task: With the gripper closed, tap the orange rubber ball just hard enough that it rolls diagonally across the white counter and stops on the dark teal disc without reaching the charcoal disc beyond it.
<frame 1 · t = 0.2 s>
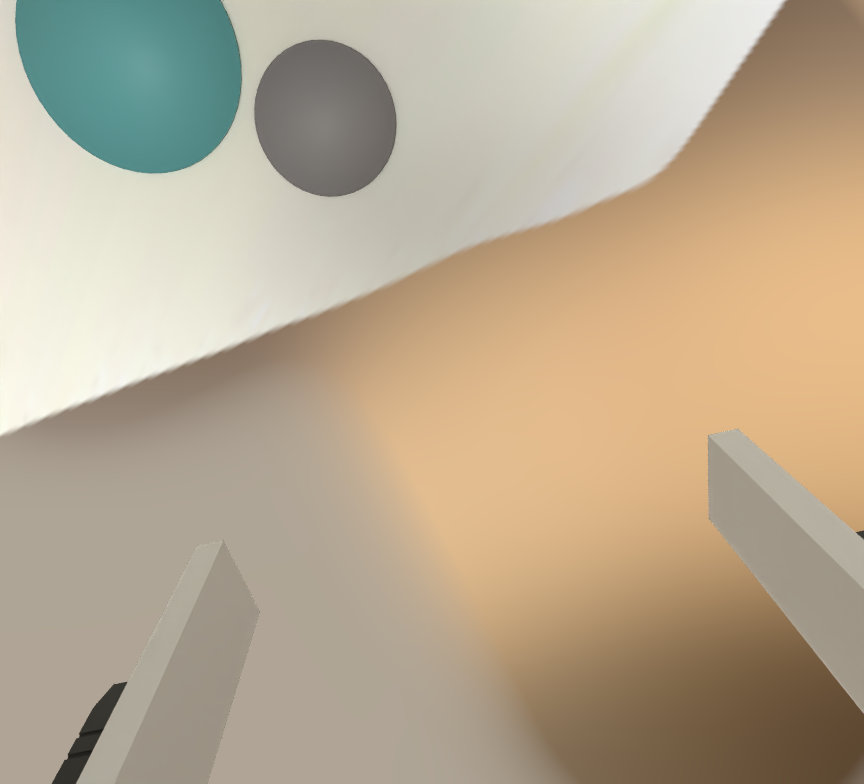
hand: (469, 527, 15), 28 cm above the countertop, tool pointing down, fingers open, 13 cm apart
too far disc: (326, 122, 35), on the countertop
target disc: (132, 58, 33), on the countertop
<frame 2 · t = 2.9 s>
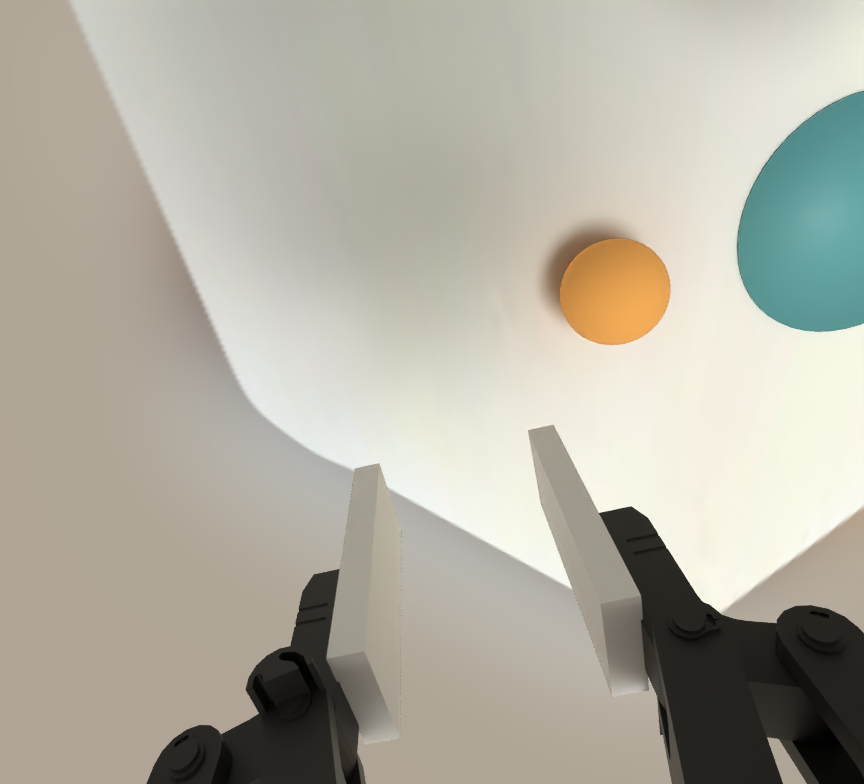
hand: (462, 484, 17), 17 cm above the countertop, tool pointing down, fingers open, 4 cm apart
ball: (613, 292, 29), on the countertop
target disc: (854, 219, 30), on the countertop
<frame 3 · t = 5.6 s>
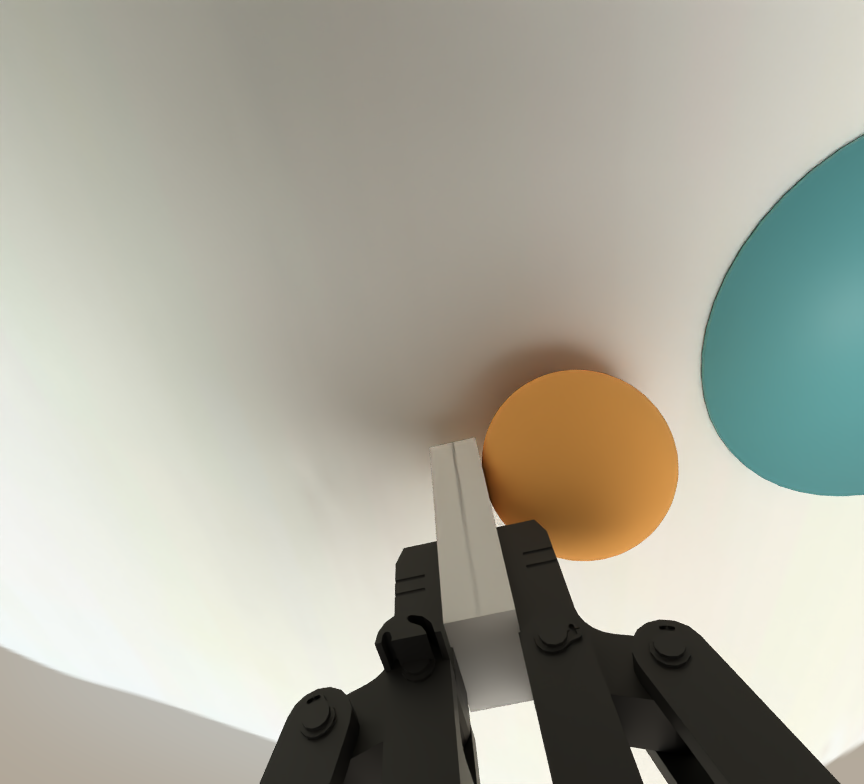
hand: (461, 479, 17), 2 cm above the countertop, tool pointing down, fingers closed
ball: (575, 463, 16), on the countertop, touching gripper
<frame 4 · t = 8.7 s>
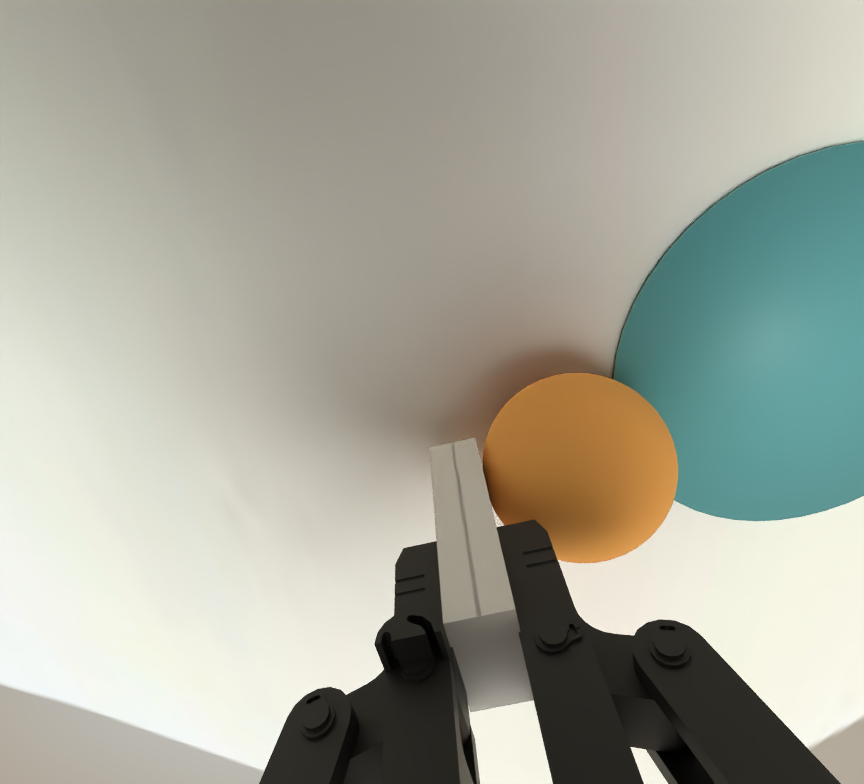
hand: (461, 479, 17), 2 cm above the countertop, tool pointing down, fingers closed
ball: (576, 465, 16), on the countertop, touching gripper
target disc: (810, 358, 18), on the countertop
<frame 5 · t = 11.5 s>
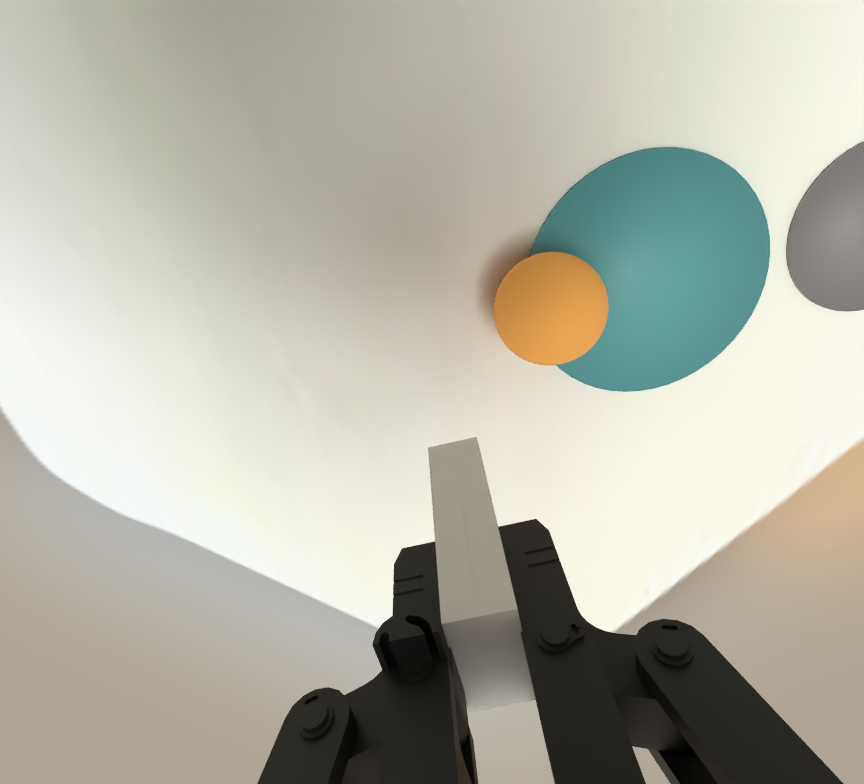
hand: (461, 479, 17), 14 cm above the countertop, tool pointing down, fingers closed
ball: (549, 309, 27), on the countertop
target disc: (645, 280, 29), on the countertop
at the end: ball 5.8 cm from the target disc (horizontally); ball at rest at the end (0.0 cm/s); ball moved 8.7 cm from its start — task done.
